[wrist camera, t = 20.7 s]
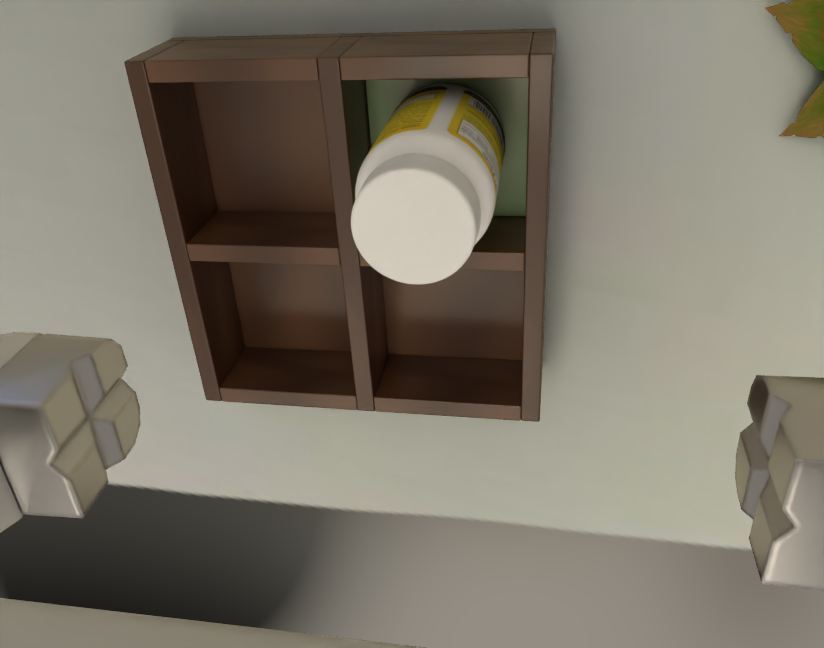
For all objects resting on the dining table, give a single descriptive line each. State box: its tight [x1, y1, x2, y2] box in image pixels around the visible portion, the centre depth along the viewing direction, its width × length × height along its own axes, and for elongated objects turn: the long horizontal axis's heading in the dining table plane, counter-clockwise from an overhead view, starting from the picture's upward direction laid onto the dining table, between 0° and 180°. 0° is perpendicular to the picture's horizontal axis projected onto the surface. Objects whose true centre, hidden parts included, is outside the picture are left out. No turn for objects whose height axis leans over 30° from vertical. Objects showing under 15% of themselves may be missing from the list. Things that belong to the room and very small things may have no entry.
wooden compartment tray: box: [125, 29, 556, 422], centre depth 32 cm, size 15×15×4 cm
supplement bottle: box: [351, 84, 505, 284], centre depth 27 cm, size 5×5×8 cm
